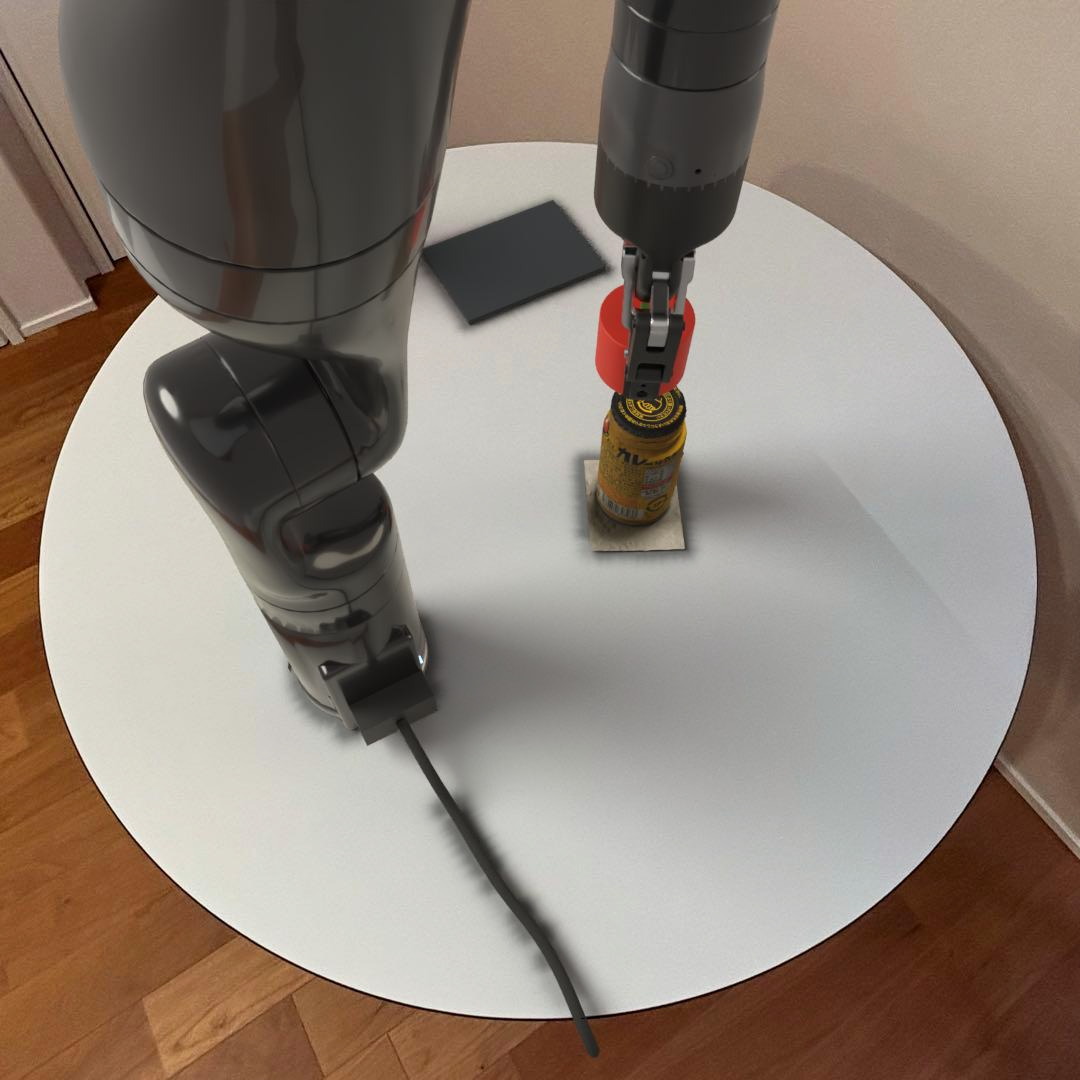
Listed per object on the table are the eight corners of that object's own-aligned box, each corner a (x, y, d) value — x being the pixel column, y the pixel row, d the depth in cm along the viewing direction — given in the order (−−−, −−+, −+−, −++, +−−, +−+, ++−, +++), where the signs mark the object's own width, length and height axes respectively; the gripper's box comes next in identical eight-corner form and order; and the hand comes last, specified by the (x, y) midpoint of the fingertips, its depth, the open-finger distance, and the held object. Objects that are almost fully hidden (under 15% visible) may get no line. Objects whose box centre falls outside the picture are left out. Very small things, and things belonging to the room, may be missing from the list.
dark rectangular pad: (605, 270, 90) (605, 265, 90) (469, 325, 87) (468, 320, 86) (553, 204, 95) (553, 199, 94) (421, 253, 91) (420, 249, 91)
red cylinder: (702, 379, 62) (716, 323, 58) (622, 411, 61) (630, 356, 56) (656, 317, 65) (666, 258, 60) (579, 346, 63) (583, 289, 59)
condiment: (673, 459, 80) (693, 362, 69) (684, 550, 75) (708, 461, 65) (583, 462, 80) (590, 364, 69) (590, 552, 75) (598, 464, 65)
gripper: (760, 239, 44) (701, 451, 59) (746, 40, 51) (696, 274, 66) (594, 230, 44) (576, 444, 59) (603, 33, 51) (585, 268, 66)
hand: (640, 354), depth 62 cm, fingers closed on red cylinder, 6 cm apart
